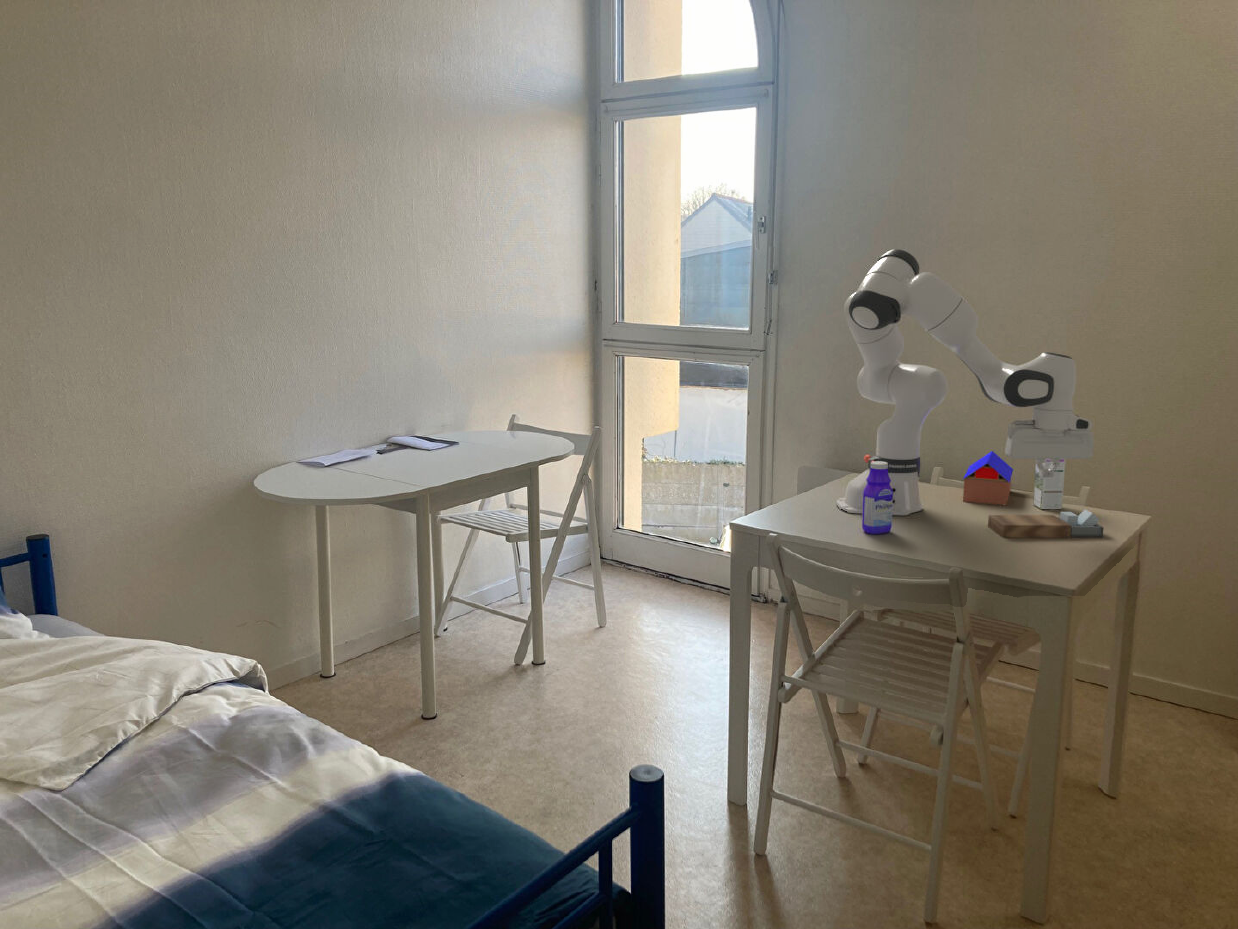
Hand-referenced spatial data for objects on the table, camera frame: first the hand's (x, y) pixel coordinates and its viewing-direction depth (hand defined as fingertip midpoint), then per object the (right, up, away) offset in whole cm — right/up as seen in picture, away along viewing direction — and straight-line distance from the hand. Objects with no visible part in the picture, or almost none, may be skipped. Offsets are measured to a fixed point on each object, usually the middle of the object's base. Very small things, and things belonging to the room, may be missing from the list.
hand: (1046, 476), depth 231 cm
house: (+1, -7, +40) cm, 40 cm away
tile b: (+7, -11, +1) cm, 13 cm away
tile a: (+9, -10, 0) cm, 14 cm away
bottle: (-41, -14, +3) cm, 43 cm away
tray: (+8, -14, +1) cm, 16 cm away
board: (-4, -14, +2) cm, 14 cm away
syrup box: (+12, -9, +26) cm, 30 cm away
